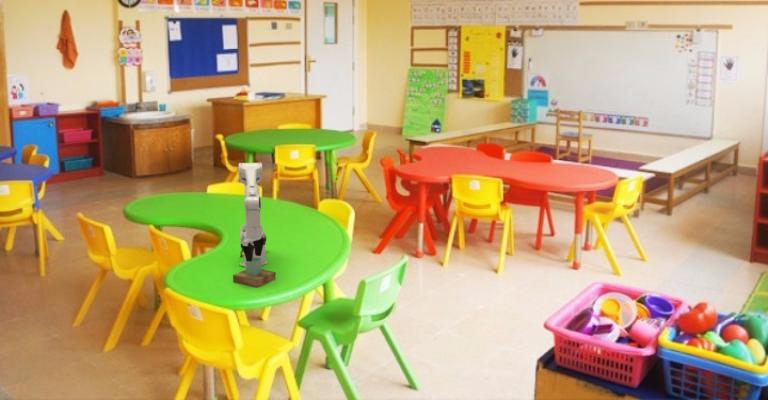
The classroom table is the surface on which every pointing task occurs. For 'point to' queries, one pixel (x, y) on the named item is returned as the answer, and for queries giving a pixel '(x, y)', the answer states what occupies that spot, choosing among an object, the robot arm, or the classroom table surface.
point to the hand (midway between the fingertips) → (253, 258)
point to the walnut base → (254, 278)
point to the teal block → (253, 266)
